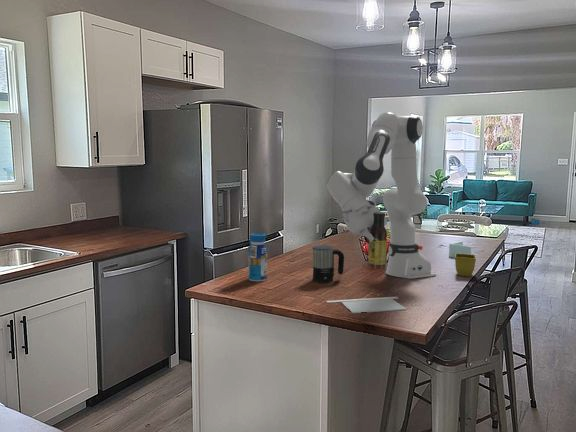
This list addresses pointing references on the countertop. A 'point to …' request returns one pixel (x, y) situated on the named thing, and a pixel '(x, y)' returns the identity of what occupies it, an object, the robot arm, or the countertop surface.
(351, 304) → the mat
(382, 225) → the sauce bottle
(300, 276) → the countertop surface
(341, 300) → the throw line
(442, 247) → the countertop surface
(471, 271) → the flower pot
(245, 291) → the countertop surface
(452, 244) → the right angle wall
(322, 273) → the milk frother
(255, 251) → the beverage bottle
